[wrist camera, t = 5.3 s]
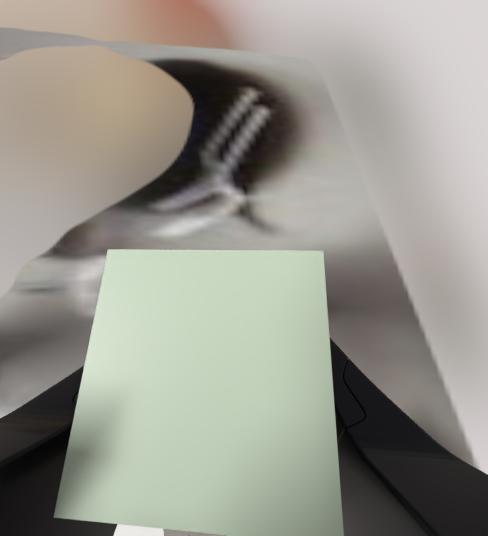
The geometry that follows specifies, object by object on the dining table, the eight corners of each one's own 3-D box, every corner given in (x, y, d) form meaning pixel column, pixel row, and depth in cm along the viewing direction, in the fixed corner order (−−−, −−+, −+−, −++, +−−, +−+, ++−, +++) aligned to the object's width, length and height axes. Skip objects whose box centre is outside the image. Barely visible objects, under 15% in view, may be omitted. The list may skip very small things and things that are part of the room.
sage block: (273, 360, 14) (344, 547, 3) (213, 357, 15) (53, 517, 3) (272, 299, 15) (322, 250, 4) (217, 298, 16) (108, 249, 4)
